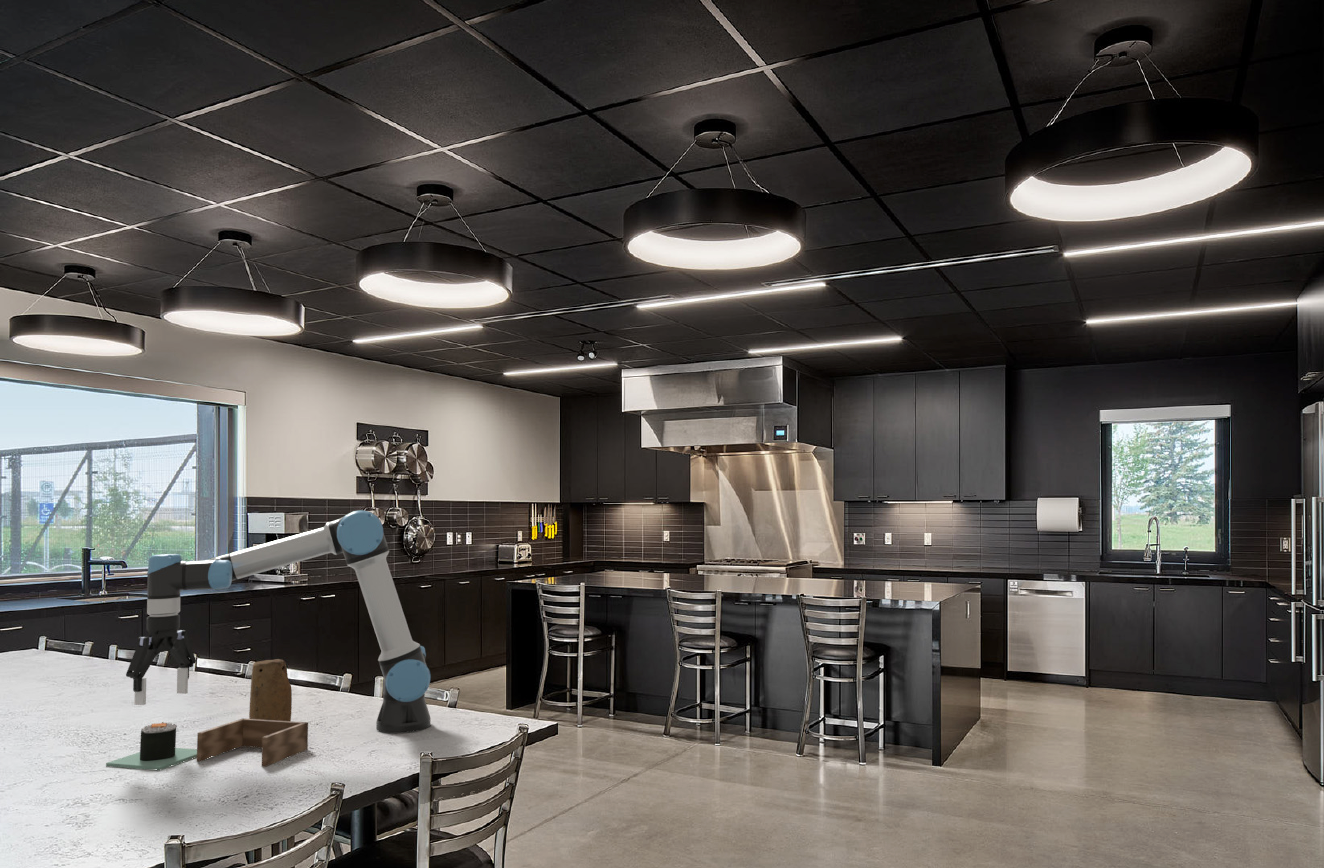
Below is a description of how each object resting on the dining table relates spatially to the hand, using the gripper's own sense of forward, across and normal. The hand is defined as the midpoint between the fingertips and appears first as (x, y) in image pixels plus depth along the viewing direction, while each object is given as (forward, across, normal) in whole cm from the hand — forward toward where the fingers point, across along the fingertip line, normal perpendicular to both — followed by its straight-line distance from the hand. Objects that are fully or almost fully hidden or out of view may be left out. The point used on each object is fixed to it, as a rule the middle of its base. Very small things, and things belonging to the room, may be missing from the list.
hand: (161, 699), depth 231 cm
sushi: (+14, 0, 0) cm, 15 cm away
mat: (+15, 0, 0) cm, 15 cm away
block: (+16, -32, +8) cm, 36 cm away
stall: (+15, -9, +21) cm, 27 cm away
